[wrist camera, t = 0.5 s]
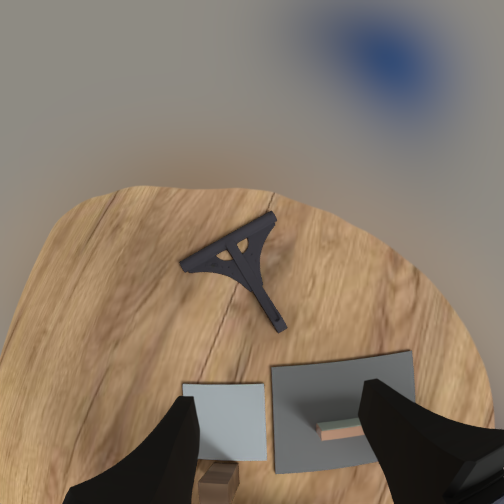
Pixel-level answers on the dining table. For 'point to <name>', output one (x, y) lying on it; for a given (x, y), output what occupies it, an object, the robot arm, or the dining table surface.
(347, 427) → the tile
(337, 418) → the slate mat
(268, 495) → the dining table surface
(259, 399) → the rest pad
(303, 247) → the dining table surface
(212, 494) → the walnut stick
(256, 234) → the bracket
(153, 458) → the robot arm
